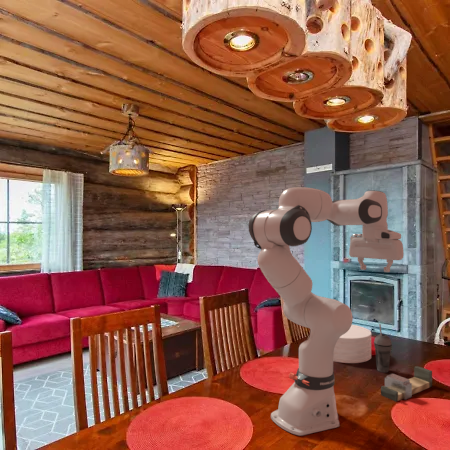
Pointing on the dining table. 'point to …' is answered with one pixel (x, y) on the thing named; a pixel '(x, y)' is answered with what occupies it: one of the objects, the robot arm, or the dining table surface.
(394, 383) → the block
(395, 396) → the rail
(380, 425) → the dining table surface
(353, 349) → the plate stack
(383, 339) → the beverage cup
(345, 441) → the dining table surface
